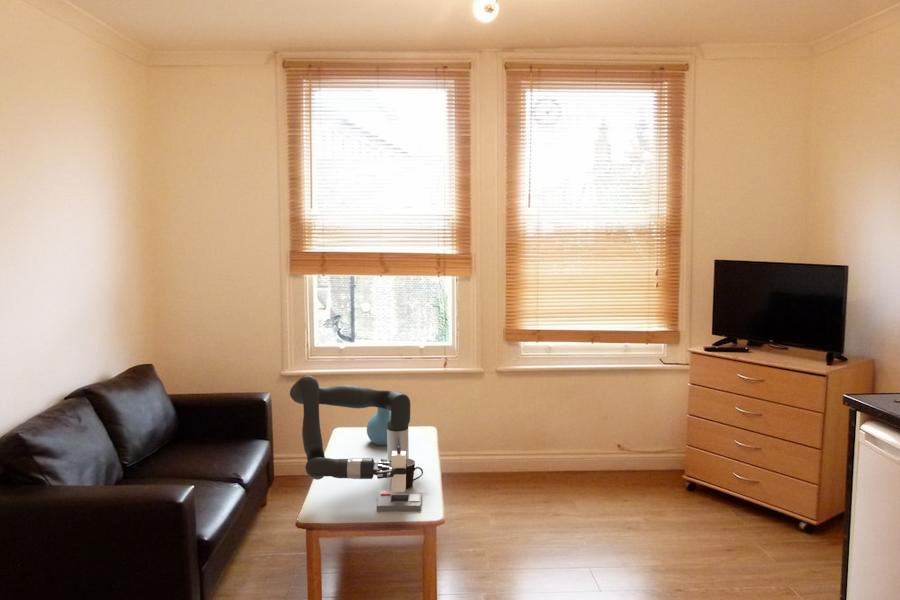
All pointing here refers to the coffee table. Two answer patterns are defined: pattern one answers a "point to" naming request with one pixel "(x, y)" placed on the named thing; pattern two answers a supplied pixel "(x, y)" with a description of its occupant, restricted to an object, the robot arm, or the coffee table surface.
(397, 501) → the socket
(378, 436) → the vase
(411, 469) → the coffee mug
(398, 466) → the plug
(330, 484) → the coffee table surface
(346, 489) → the coffee table surface
